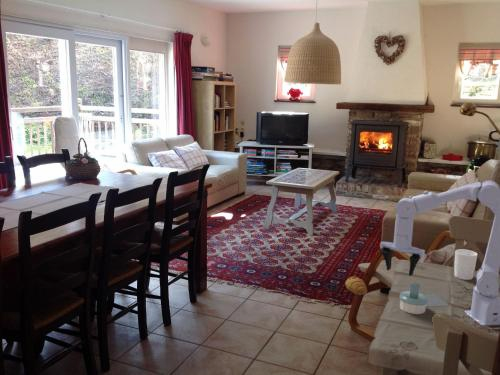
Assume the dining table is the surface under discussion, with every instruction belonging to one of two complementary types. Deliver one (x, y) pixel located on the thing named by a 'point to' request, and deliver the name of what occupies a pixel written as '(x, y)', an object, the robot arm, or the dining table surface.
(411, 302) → the lid
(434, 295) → the mat
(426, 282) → the dining table surface
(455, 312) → the dining table surface
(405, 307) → the bowl
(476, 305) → the robot arm
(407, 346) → the dining table surface
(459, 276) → the white cup
